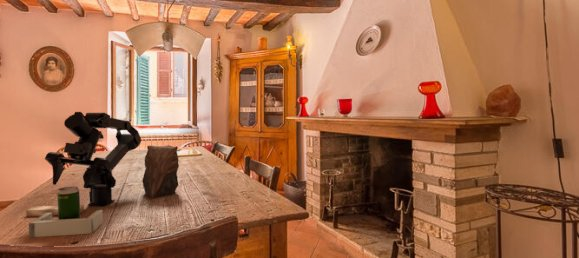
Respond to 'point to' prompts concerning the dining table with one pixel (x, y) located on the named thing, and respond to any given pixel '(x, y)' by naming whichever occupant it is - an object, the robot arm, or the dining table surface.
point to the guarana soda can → (68, 203)
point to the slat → (45, 210)
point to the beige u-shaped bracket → (64, 225)
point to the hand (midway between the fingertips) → (69, 186)
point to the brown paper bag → (160, 171)
